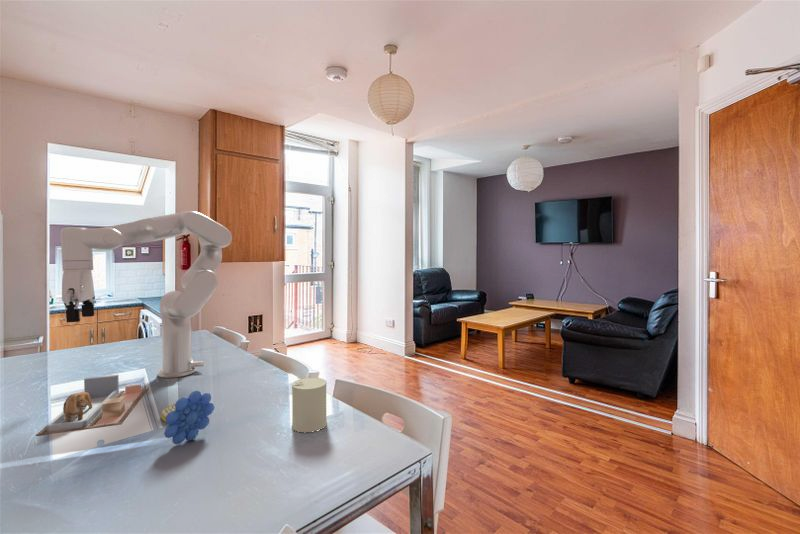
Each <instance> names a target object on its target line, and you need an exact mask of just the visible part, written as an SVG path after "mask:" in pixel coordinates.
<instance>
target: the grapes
mask: <svg viewBox="0 0 800 534" xmlns="http://www.w3.org/2000/svg"><path fill="white" fill-rule="evenodd" d="M201 392H202V391H200V390H194V391H192V392H191V393H190V394H189V395H188V397H186V396H184V397H183V396H182V397H180V398H179V399H177V401H176V402H175V403H174V404H175V409H176V410H174V411H171V412H170V413H168V415H167V416H166V419H165V421H166V422H165V421H164V422H165V423H166V424H167V425H168V426H167V427H166V428H165V429H164V433H163V434H164V436H165V438H167V439H170V438H171V440H172V443H173V444H174V445H179V444H181V443H183V442H184V441H185V440H186V441H188V442H191V441H193V440H195V439H196V438H197V437H198V435H199V430H204V429H206V428H207V427H208V425H209V423H210V418H209V417H210V415H212V414H213V412H214V411H215V404H214V403H212V402H211V400H212V395H211V393H209V392H205V393H203V394H202V393H201Z"/></svg>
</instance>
